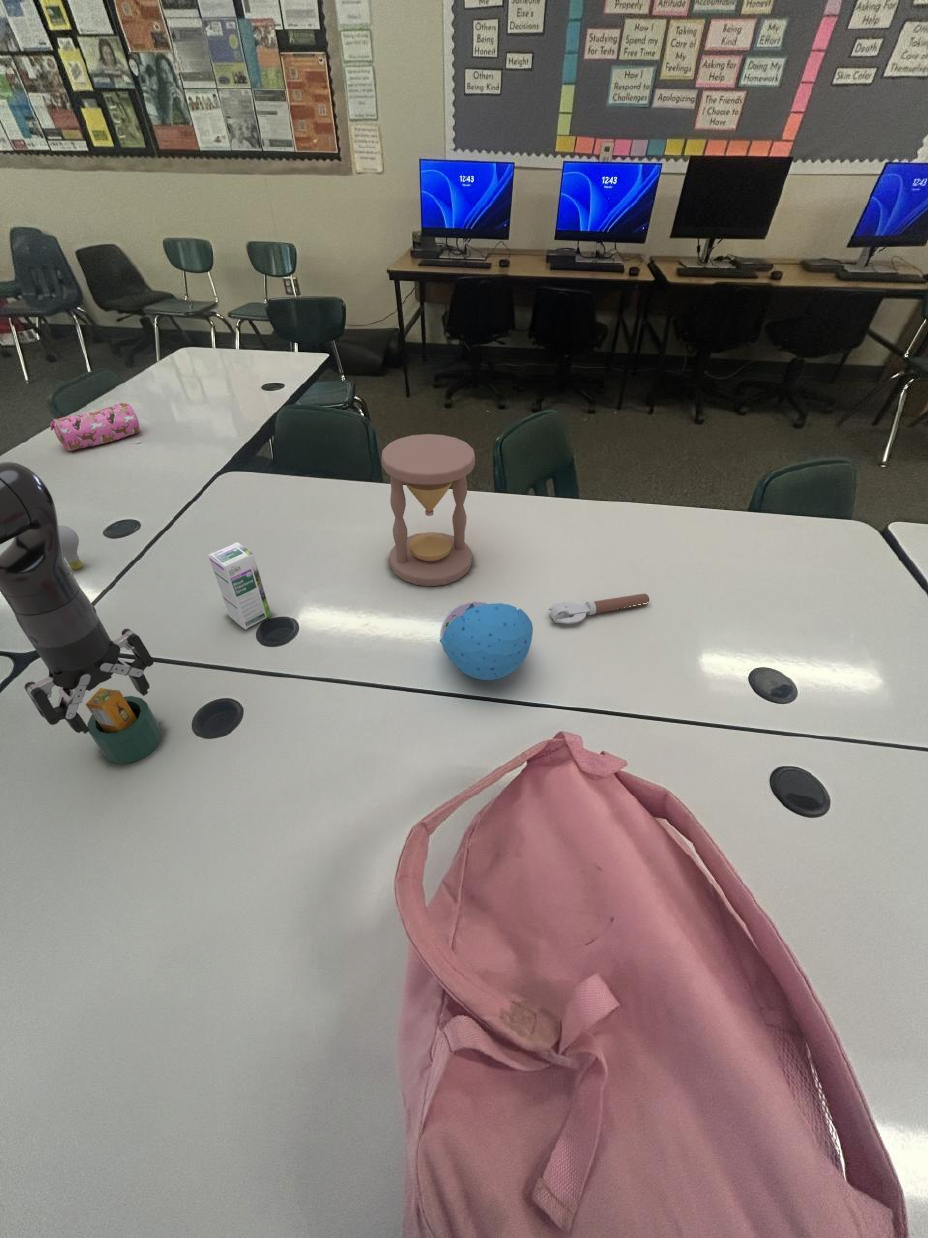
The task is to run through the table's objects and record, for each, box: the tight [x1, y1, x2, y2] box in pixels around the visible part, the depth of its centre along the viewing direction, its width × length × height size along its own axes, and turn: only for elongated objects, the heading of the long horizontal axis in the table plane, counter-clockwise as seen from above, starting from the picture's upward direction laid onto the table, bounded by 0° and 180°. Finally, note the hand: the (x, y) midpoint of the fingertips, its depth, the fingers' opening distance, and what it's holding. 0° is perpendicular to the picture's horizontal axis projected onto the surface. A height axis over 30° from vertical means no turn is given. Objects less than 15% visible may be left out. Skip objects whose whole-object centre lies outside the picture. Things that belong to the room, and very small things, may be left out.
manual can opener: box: [548, 593, 650, 624], centre depth 109 cm, size 20×6×3 cm, turn 112°
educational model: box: [439, 601, 534, 681], centre depth 94 cm, size 16×19×15 cm
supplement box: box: [85, 687, 137, 733], centre depth 81 cm, size 3×4×10 cm
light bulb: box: [58, 524, 83, 570], centre depth 114 cm, size 5×6×10 cm
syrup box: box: [207, 541, 272, 630], centre depth 102 cm, size 6×6×14 cm
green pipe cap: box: [86, 695, 162, 765], centre depth 83 cm, size 8×8×6 cm
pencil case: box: [49, 402, 141, 452], centre depth 162 cm, size 21×9×9 cm, turn 137°
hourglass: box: [381, 433, 476, 587], centre depth 113 cm, size 18×18×25 cm
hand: (114, 710), depth 80 cm, fingers open, 8 cm apart
